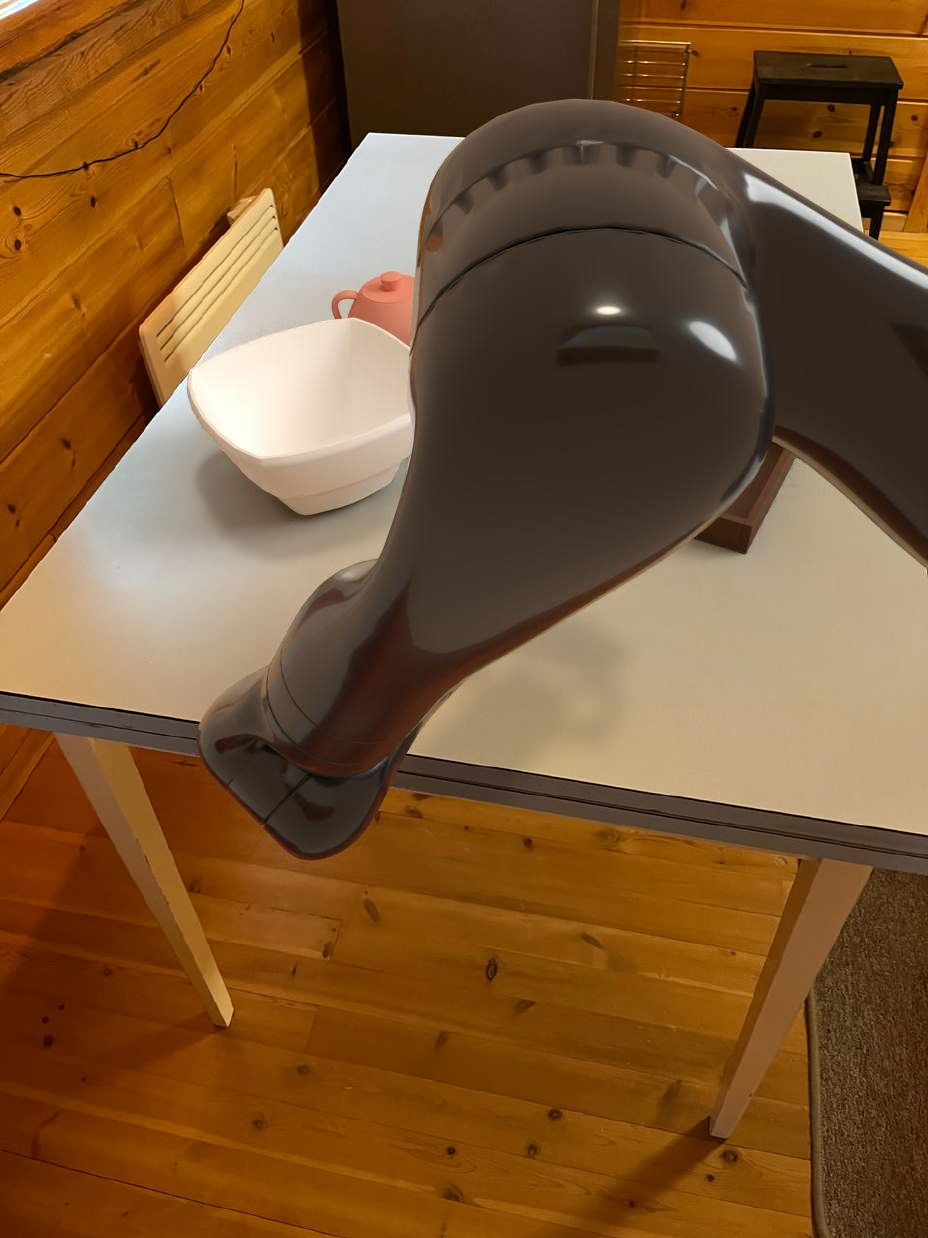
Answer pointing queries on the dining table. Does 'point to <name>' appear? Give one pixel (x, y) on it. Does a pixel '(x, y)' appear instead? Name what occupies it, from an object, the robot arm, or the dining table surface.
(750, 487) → the tray
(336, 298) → the sugar bowl
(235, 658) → the dining table surface
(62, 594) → the dining table surface
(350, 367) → the bowl
